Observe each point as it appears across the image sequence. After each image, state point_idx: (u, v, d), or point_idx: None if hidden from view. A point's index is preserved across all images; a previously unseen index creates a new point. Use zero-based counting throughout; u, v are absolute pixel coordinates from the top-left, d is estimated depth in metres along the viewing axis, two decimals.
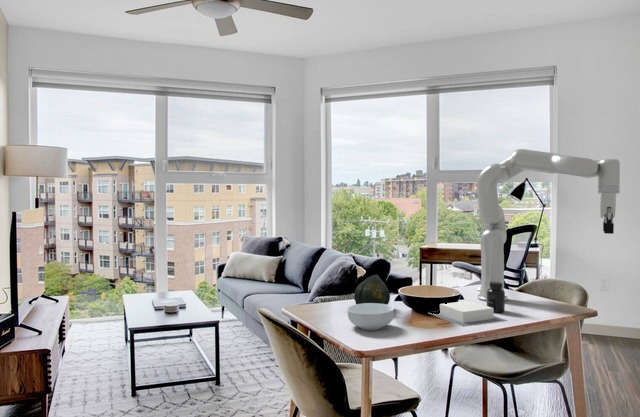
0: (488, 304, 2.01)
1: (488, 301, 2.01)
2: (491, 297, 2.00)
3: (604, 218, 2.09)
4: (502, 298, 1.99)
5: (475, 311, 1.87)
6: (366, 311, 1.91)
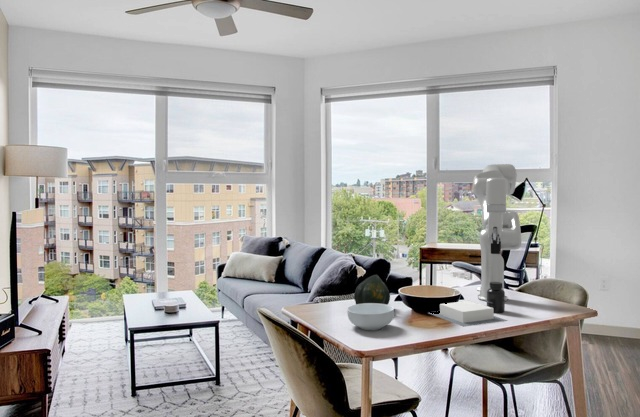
0: (488, 304, 2.01)
1: (488, 301, 2.01)
2: (491, 297, 2.00)
3: None
4: (502, 298, 1.99)
5: (475, 311, 1.87)
6: (366, 311, 1.91)
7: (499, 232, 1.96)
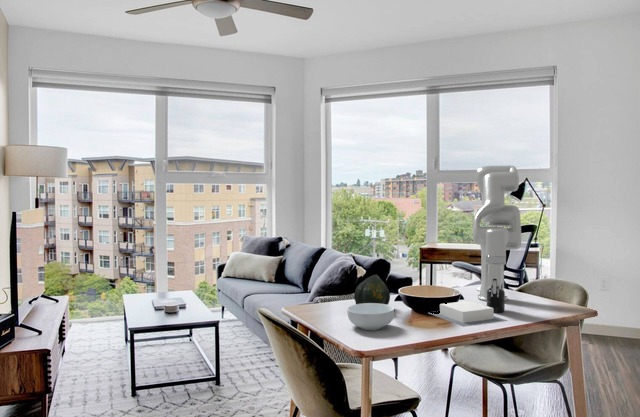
0: (488, 304, 2.01)
1: (488, 301, 2.01)
2: None
3: None
4: (502, 298, 1.99)
5: (475, 311, 1.87)
6: (366, 311, 1.91)
7: (499, 284, 1.97)
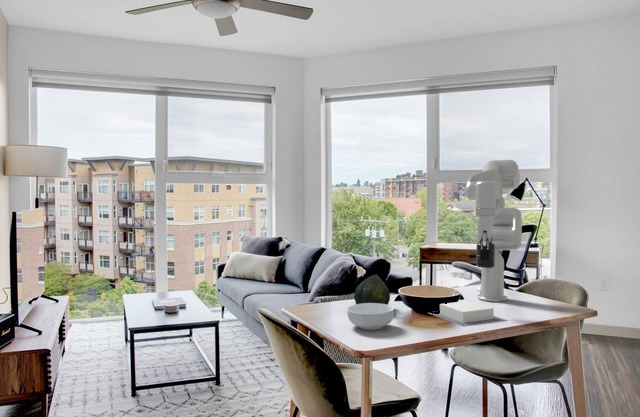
0: (478, 258, 1.97)
1: (478, 255, 1.97)
2: None
3: None
4: (492, 251, 1.95)
5: (475, 311, 1.87)
6: (366, 310, 1.91)
7: (489, 236, 1.93)
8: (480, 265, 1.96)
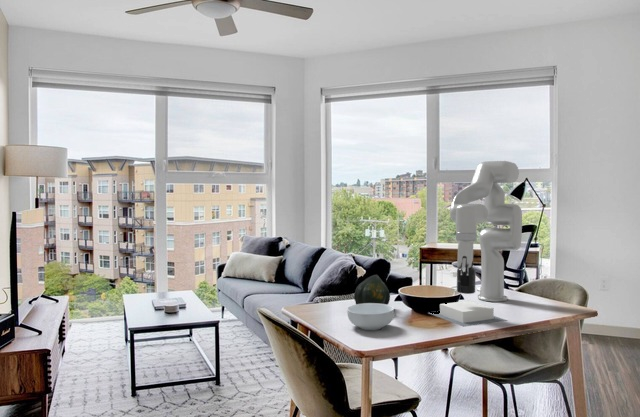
0: (458, 283, 1.93)
1: (458, 280, 1.93)
2: None
3: None
4: (472, 277, 1.91)
5: (475, 311, 1.87)
6: (366, 311, 1.91)
7: (468, 262, 1.88)
8: (460, 291, 1.92)
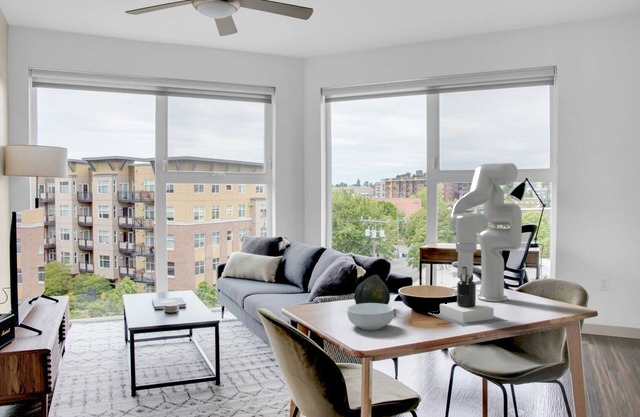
0: (458, 297, 1.94)
1: (458, 294, 1.94)
2: None
3: None
4: (472, 291, 1.91)
5: (475, 311, 1.87)
6: (366, 310, 1.91)
7: (469, 272, 1.89)
8: (460, 304, 1.93)
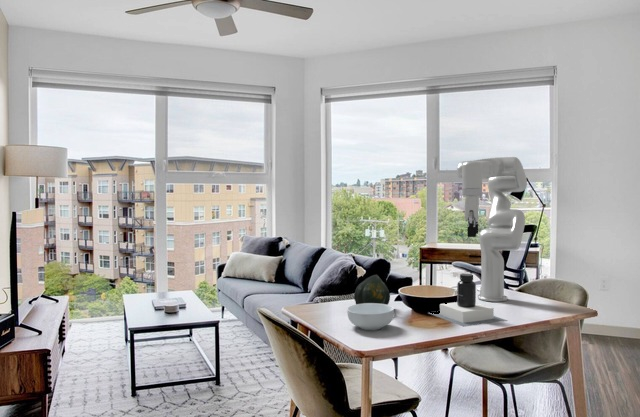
0: (458, 297, 1.94)
1: (458, 294, 1.94)
2: (461, 290, 1.92)
3: None
4: (472, 291, 1.91)
5: (475, 311, 1.87)
6: (366, 311, 1.91)
7: (475, 215, 1.99)
8: (460, 304, 1.93)
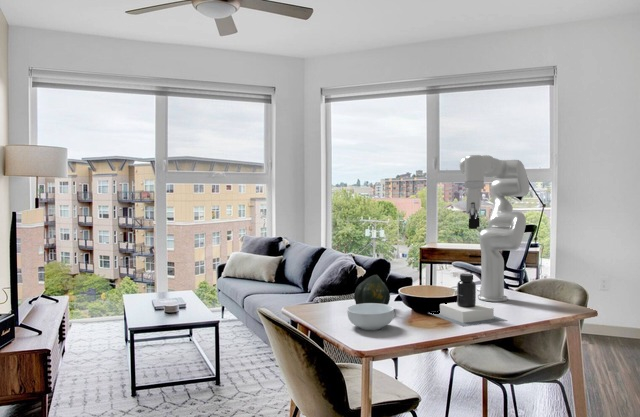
0: (458, 297, 1.94)
1: (458, 294, 1.94)
2: (461, 289, 1.92)
3: None
4: (472, 291, 1.91)
5: (475, 311, 1.87)
6: (366, 311, 1.91)
7: (477, 208, 2.02)
8: (460, 304, 1.93)
